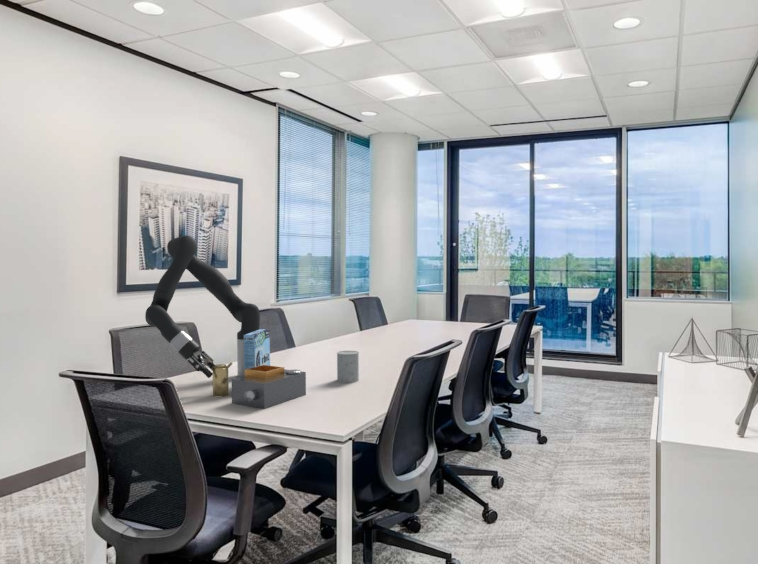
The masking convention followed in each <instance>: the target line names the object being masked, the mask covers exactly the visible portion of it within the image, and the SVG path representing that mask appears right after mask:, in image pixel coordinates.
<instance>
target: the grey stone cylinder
mask: <svg viewBox="0 0 758 564" xmlns="http://www.w3.org/2000/svg"><path fill="white" fill-rule="evenodd" d="M359 359H360V358H359V351H356V350H340V351H337V352H336V363H337V364H336V370H337V374H336V375H337V376H336V377H337V380H336V381H337V382H338V383H343V384H344V383H345V384H347V383H349V384H350V383H356V382H359V380H360V379H359V378H360V377H359V376H360V374H359V370H360V369H359V368H360V367H359V366H360V365H359V364H360V363H359Z"/></svg>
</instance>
